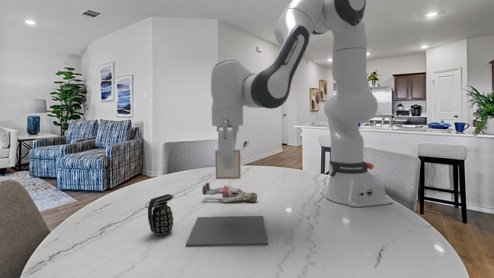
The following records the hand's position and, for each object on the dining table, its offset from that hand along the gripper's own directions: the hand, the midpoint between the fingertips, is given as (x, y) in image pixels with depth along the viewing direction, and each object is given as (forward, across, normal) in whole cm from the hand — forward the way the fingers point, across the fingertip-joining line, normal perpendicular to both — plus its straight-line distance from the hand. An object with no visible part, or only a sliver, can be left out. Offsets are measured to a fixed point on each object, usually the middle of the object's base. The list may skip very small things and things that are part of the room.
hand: (228, 167), depth 72 cm
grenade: (+17, -6, +18) cm, 25 cm away
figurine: (+17, +18, +1) cm, 25 cm away
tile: (+3, 0, 0) cm, 3 cm away
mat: (+17, -5, 0) cm, 17 cm away
